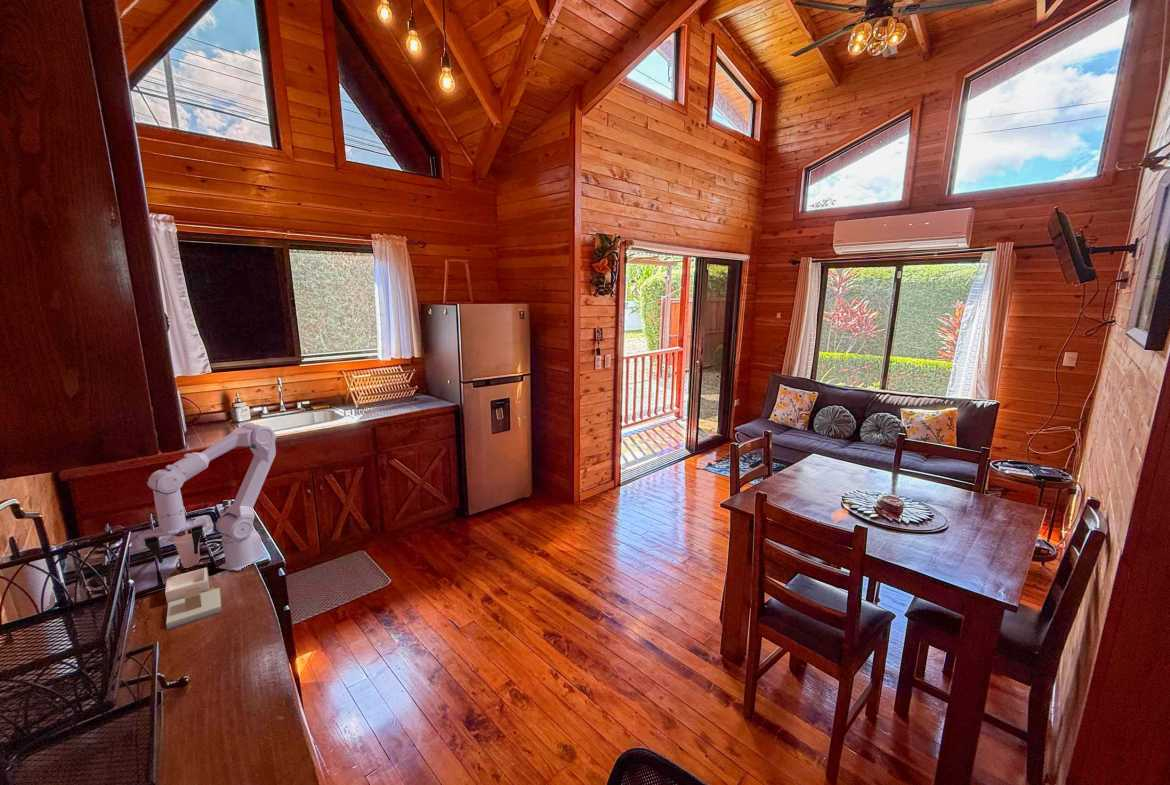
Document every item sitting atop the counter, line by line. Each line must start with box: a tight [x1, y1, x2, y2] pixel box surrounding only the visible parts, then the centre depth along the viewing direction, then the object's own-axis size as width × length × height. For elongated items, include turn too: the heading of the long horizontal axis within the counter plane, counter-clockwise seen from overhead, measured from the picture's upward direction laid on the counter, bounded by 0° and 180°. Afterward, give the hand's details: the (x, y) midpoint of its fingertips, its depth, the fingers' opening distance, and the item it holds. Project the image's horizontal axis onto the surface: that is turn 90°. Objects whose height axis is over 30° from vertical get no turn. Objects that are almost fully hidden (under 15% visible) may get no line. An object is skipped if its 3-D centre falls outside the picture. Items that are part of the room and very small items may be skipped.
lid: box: [165, 586, 222, 627], centre depth 128 cm, size 11×11×4 cm
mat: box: [166, 595, 222, 631], centre depth 128 cm, size 13×11×1 cm
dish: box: [164, 566, 210, 605], centre depth 136 cm, size 9×9×4 cm
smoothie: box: [173, 531, 202, 569], centre depth 148 cm, size 6×6×14 cm
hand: (178, 557), depth 136 cm, fingers open, 7 cm apart
